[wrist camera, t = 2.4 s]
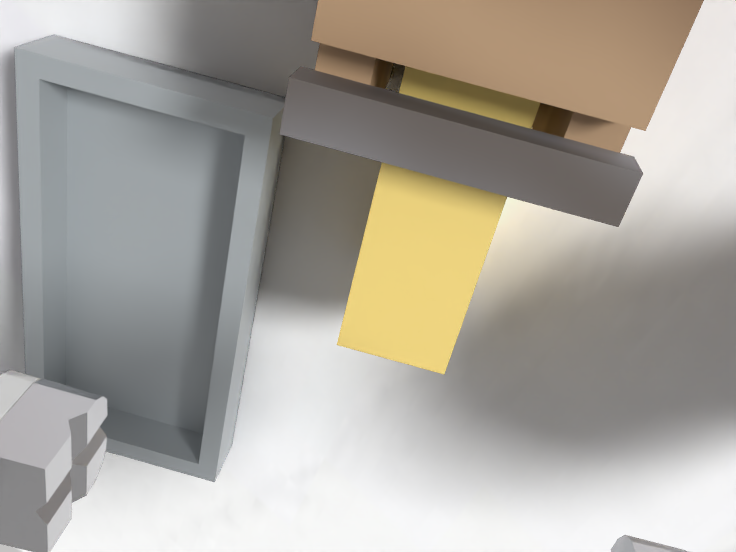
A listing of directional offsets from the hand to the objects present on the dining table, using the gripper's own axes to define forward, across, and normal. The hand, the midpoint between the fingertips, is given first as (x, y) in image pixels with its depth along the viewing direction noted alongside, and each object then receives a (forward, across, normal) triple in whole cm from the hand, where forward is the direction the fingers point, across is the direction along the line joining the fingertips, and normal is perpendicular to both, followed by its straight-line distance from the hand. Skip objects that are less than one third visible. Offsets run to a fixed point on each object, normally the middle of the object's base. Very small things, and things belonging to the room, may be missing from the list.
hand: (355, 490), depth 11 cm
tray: (+12, +8, +6) cm, 16 cm away
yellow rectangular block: (+12, 0, -2) cm, 13 cm away
